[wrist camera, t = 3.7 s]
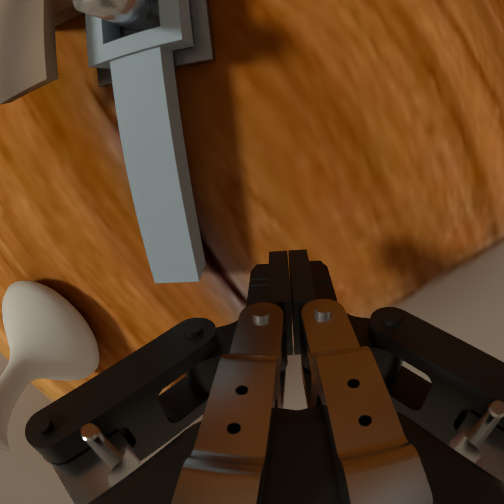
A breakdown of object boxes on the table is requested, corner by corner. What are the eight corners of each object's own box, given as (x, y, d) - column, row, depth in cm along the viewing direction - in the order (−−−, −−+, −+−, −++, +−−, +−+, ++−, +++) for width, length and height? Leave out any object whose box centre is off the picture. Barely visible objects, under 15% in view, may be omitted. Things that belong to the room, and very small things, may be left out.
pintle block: (204, -39, 12) (170, -92, 6) (215, 60, 15) (180, 38, 9) (98, -7, 13) (33, -32, 7) (105, 86, 16) (34, 90, 10)
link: (103, -4, 12) (84, -13, 10) (185, -30, 11) (174, -45, 9) (148, 267, 20) (136, 285, 18) (224, 263, 20) (218, 282, 18)
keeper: (91, -14, 12) (45, -33, 8) (97, 78, 15) (46, 78, 11) (46, 9, 13) (-3, 0, 8) (51, 96, 16) (-1, 104, 11)
